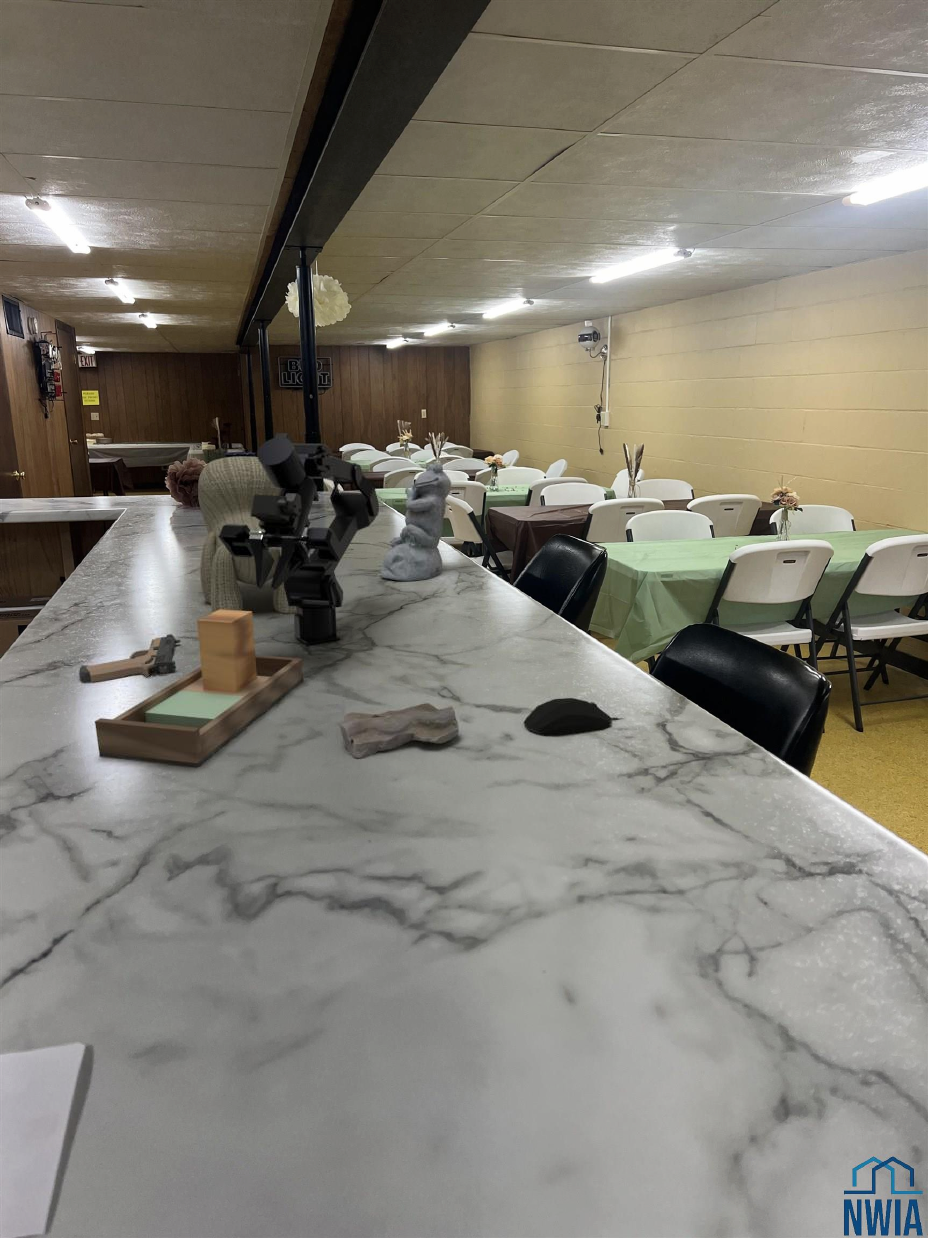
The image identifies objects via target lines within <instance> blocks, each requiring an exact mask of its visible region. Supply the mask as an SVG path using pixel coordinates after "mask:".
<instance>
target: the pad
mask: <svg viewBox="0 0 928 1238" xmlns="http://www.w3.org/2000/svg"><path fill="white" fill-rule="evenodd" d="M243 697H244V696H234V695H223V694H212V693H200V692H189V691H179V692H177V693H175V694H174V695H172V696H171V697H169V698H167V699H166V700H164V701H163V702H161V703H159V704H158V705H156V706H155V707H153V708H151V709H150V710H148V711H147V712H145V716H146V723H154V724H164V725H174V726H184V727H194V728H199V730H200V729H201V728H202V727H204V726H205V725H206V724H208V723H209V722H210V721H212V720H213V719H215V718H216V717H217V716H219V715H220V714H221V713H223V712H224V711H225V710H227V709H228V708H229V707H231V706H232V705H233V704H235V703H236V702H238V701H239V700H240V699H242V698H243Z"/></svg>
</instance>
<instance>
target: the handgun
mask: <svg viewBox="0 0 928 1238" xmlns="http://www.w3.org/2000/svg"><path fill="white" fill-rule="evenodd" d="M178 643H181V639H176V637H174V635H173V634H172V633H170V634H166V636H161V637H156V638H152V640H151V641H150V645H149V648H148V649H142V650H136V651H134V652H132V653H131V654H130V656H129V658H125V659H119V660H118V659H117V660H114V661H109V662H107V661H106V662H102V663H97V664H92V665H87V664H86V665H81V666H80V668H79V671H78V676H79V680H80V682H81V683H84V684H92V683H98V682H102V681H109V680H114V679H119V678H123V677H124V676H125V677H129V675H130V676H134V675H135V674H136V675H144V676H145V678H148V677H149V678H148V679H150V677H151V676H153V677H155V676H154V675H158V676H161V675H160V674H163V675H167V673H168V674H169V673H172V672H174V671H176V670H177V666H176V661H174V660H173V655H174V653H175V647H176V644H178ZM125 677H124V678H125ZM151 678H152V677H151ZM91 682H92V683H91Z"/></svg>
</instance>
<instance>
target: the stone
mask: <svg viewBox="0 0 928 1238" xmlns="http://www.w3.org/2000/svg"><path fill="white" fill-rule="evenodd" d="M339 728H340V731H341V734H342V737H343V742H344V746H345V749H346V750H347V751H348V753H349V754H350V755H351V756H352V757H353V758H354V759H359V760H361V759H365V758H367V757H371V756H373V755H375V754H376V753H377V752H383V751H387V750H394V749H396V748H399V747H402V746H403V745H405V744H407V743H409V742H411V741H420V742H425V743H431V744H444V743H445V742H448V741H450V740H451V739H453V738H455V737H456V736H457V735H458V733H459V731H460V730H459V722H458V719H457V717H456V711H455V708H454V707H452V706H448V707H444V708H437V707H436V706H434V705H433V704H431V703H428V702H426V703H420V704H417V705H414V706H409V707H406V708H404V709H400V710H399V709H398V710H387V711H384V712H381V713H365V712H364V713H362V712H356V711H355V712H348V713H346V714H344V715H343V717H342V723H340V724H339Z"/></svg>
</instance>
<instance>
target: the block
mask: <svg viewBox="0 0 928 1238" xmlns="http://www.w3.org/2000/svg"><path fill="white" fill-rule="evenodd" d="M196 622H197V623H196V625H197V633H198V644H199V654H200V655H199V656H200V667H201V668H202V679H203V690H211V691H222V692H233V693H237V692H238V691H240V690H241V689H243V688H244V687H245V686H247V685H248V684H250V683H251V682H252V681H254V680H255V679H256V678H257V672H256V658H255V655H256V649H255V645H256V644H255V633H254V619H253V611H252V610H251V611H250V610H243V611H237V610H222V609H220V610H217V611H215V612H211V613H210V614H208V615H205V616H203V617H201V618H199V619H197V620H196Z"/></svg>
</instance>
